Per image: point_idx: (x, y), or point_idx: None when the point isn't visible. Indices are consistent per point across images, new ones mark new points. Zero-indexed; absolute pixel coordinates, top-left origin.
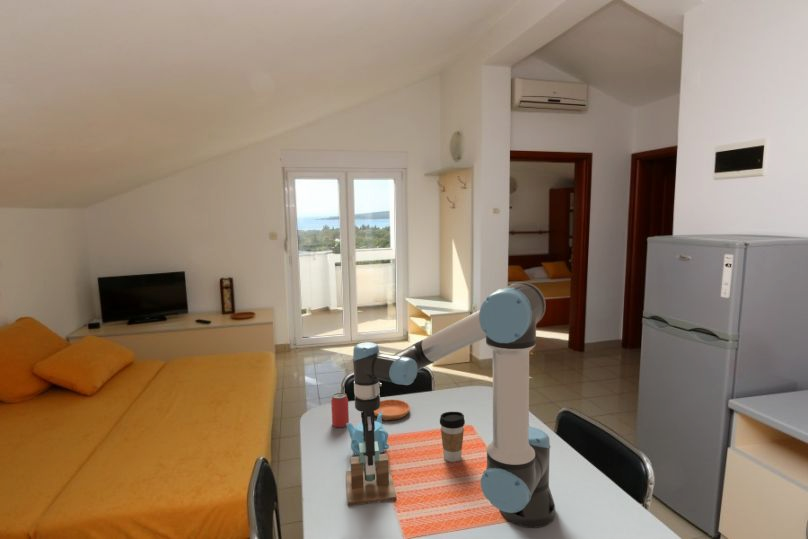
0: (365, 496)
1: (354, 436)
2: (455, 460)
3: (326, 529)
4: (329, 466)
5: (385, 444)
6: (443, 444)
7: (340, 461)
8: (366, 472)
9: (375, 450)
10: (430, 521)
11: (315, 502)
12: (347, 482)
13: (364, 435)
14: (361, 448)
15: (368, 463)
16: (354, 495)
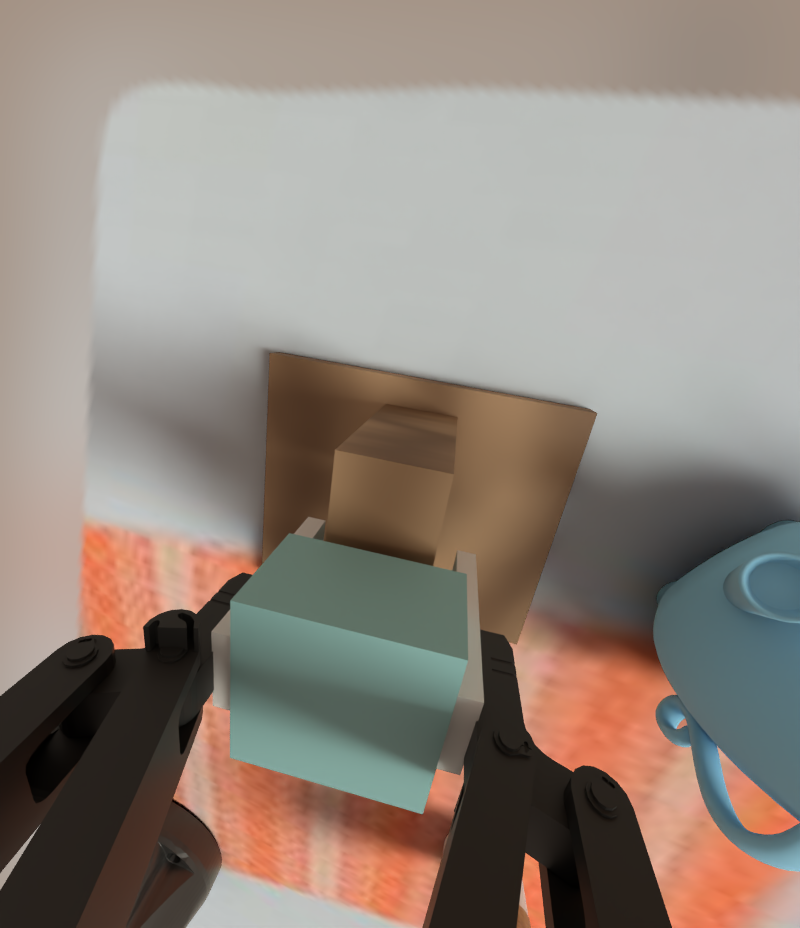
0: (297, 455)
1: None
2: (443, 848)
3: (118, 196)
4: (763, 311)
5: (685, 735)
6: None
7: (779, 406)
8: (300, 528)
9: (239, 735)
10: (130, 623)
11: (361, 145)
12: (459, 392)
13: (454, 835)
14: (320, 641)
15: (221, 588)
16: (320, 402)
